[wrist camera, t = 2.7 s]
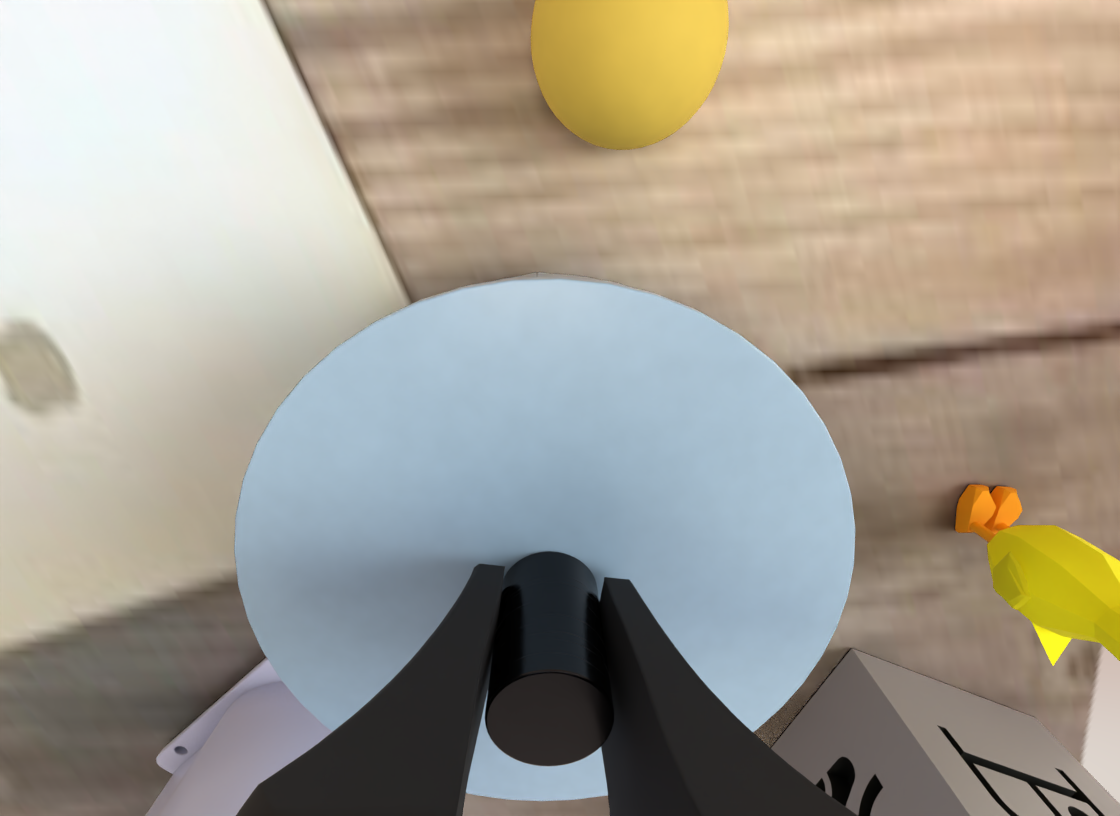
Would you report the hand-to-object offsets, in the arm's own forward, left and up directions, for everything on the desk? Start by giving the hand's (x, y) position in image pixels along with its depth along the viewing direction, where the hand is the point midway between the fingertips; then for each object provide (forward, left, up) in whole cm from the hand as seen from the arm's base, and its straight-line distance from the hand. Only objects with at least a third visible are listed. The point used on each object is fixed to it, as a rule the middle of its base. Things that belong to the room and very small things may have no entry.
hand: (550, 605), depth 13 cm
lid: (0, 0, -1) cm, 1 cm away
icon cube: (+1, -21, -7) cm, 22 cm away
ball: (+10, +8, -4) cm, 14 cm away
